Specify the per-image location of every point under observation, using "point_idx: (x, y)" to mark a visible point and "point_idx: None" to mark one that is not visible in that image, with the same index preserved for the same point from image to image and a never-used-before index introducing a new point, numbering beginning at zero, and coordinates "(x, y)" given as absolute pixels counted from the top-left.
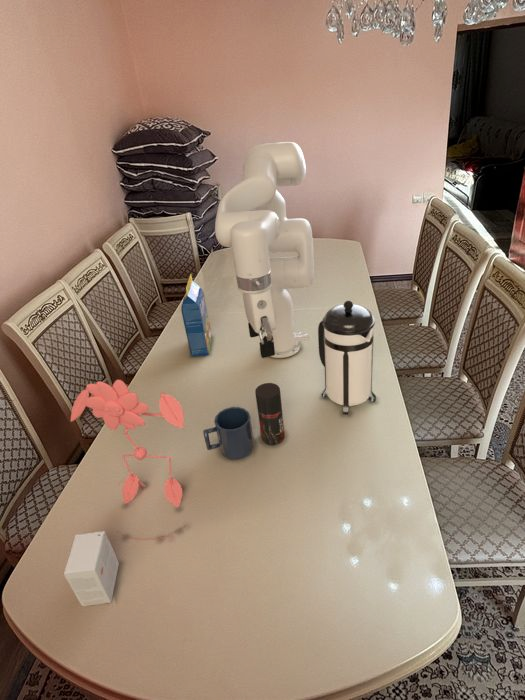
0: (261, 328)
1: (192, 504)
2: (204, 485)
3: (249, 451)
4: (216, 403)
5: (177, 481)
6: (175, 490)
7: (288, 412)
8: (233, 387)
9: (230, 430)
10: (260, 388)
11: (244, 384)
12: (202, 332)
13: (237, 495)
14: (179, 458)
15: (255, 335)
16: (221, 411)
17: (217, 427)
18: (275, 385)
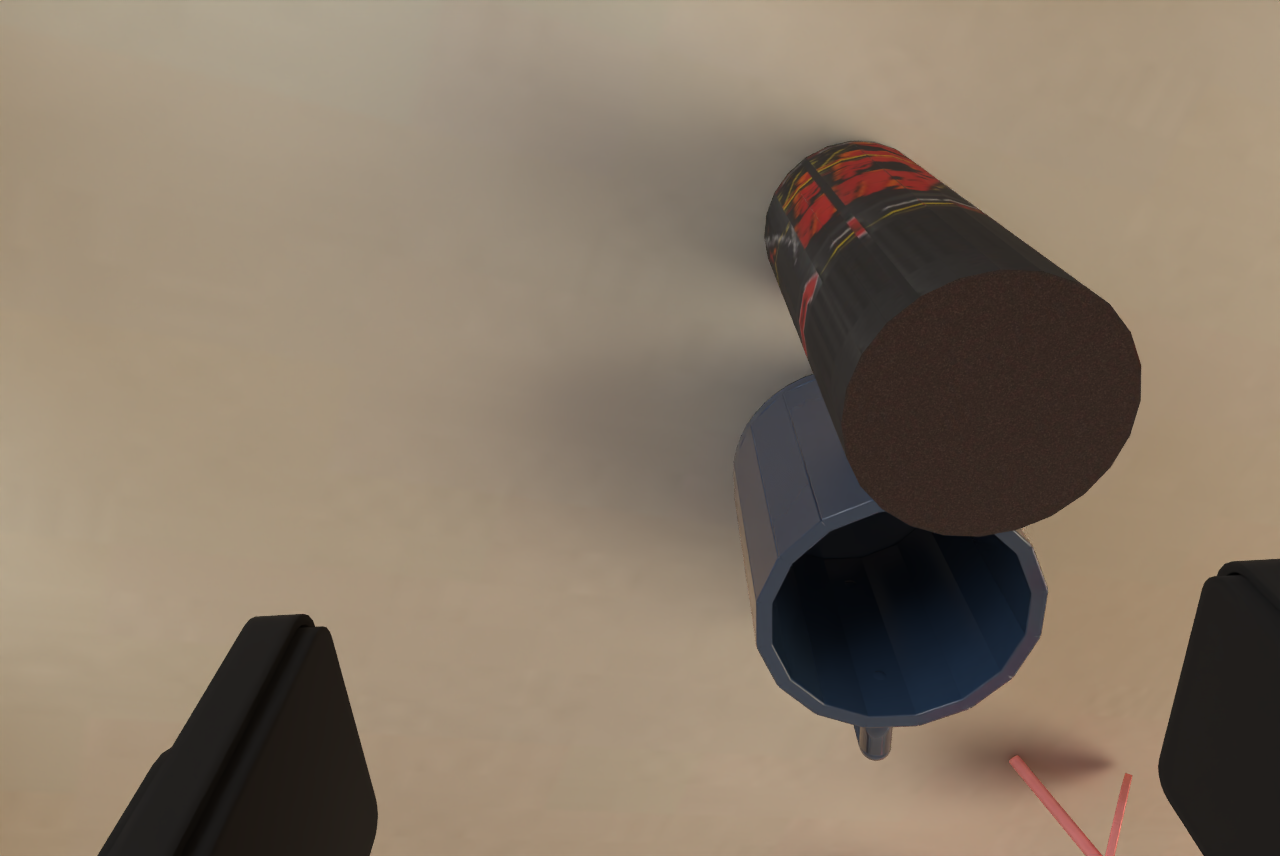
0: (259, 762)
1: (1133, 717)
2: (1044, 660)
3: None
4: (357, 521)
5: (1109, 844)
6: (1119, 831)
7: (615, 30)
8: (182, 386)
9: (1028, 649)
10: (914, 474)
11: (153, 299)
12: None
13: (1206, 527)
14: (793, 744)
15: (353, 769)
16: (778, 673)
17: (939, 714)
18: (946, 305)
